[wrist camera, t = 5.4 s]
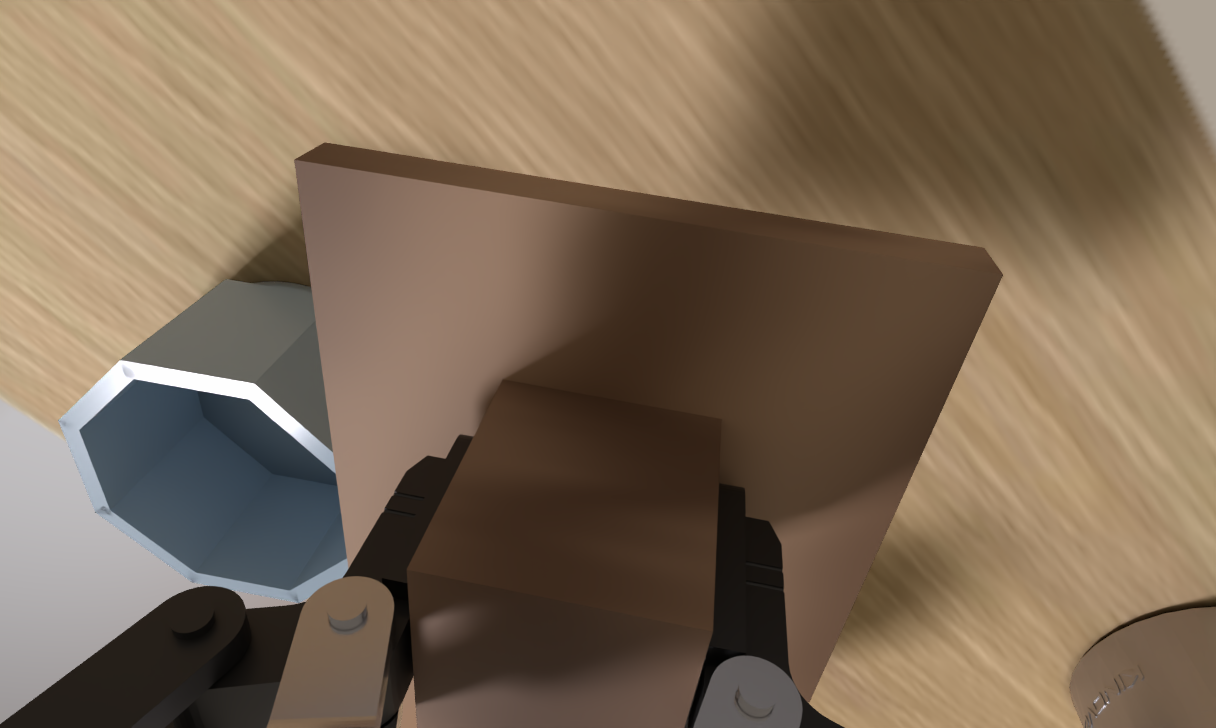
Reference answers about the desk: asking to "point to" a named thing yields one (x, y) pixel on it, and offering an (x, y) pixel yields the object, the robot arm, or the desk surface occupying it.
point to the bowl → (221, 444)
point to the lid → (616, 417)
